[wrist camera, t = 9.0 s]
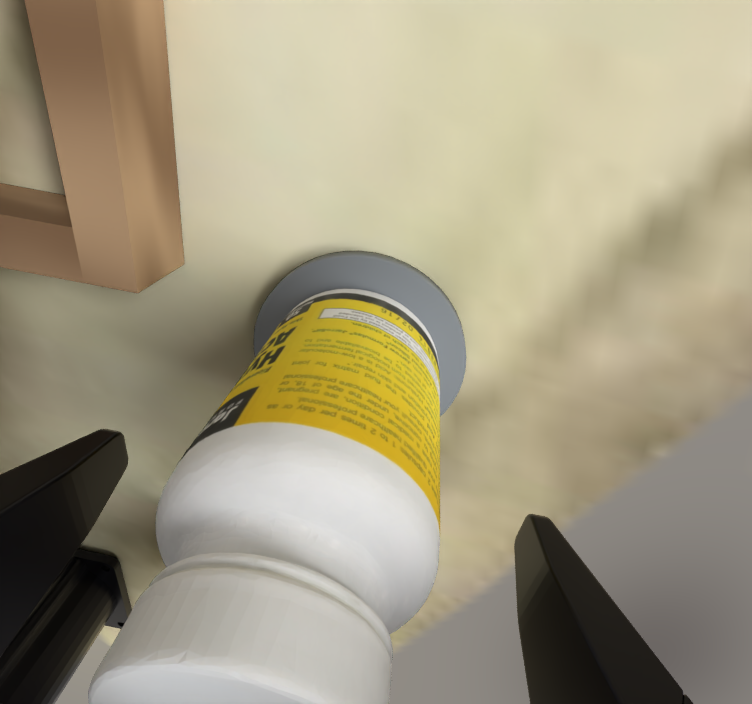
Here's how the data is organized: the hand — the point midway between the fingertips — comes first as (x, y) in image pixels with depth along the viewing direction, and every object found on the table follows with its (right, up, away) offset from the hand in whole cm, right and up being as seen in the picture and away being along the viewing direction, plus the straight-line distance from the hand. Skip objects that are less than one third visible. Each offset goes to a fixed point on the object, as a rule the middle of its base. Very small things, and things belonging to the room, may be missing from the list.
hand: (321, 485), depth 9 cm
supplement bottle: (+1, +3, +5) cm, 6 cm away
